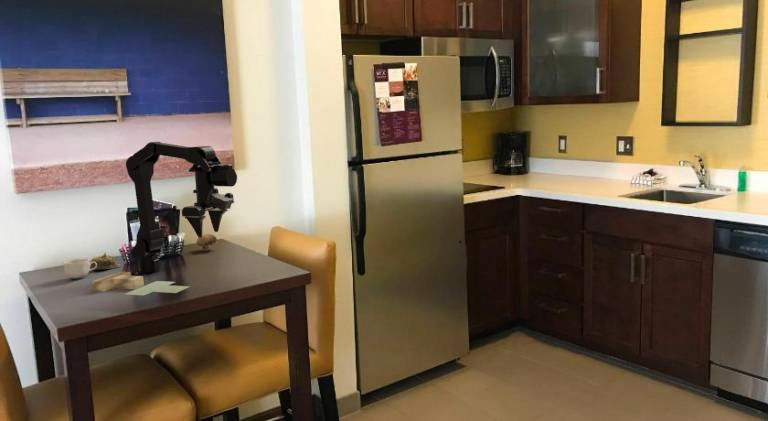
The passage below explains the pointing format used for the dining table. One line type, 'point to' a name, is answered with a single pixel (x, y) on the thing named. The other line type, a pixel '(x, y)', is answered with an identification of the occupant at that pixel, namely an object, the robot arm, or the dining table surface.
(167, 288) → the pad
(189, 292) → the dining table surface
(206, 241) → the mushroom
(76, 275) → the teacup
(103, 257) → the cake
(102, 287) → the t block
